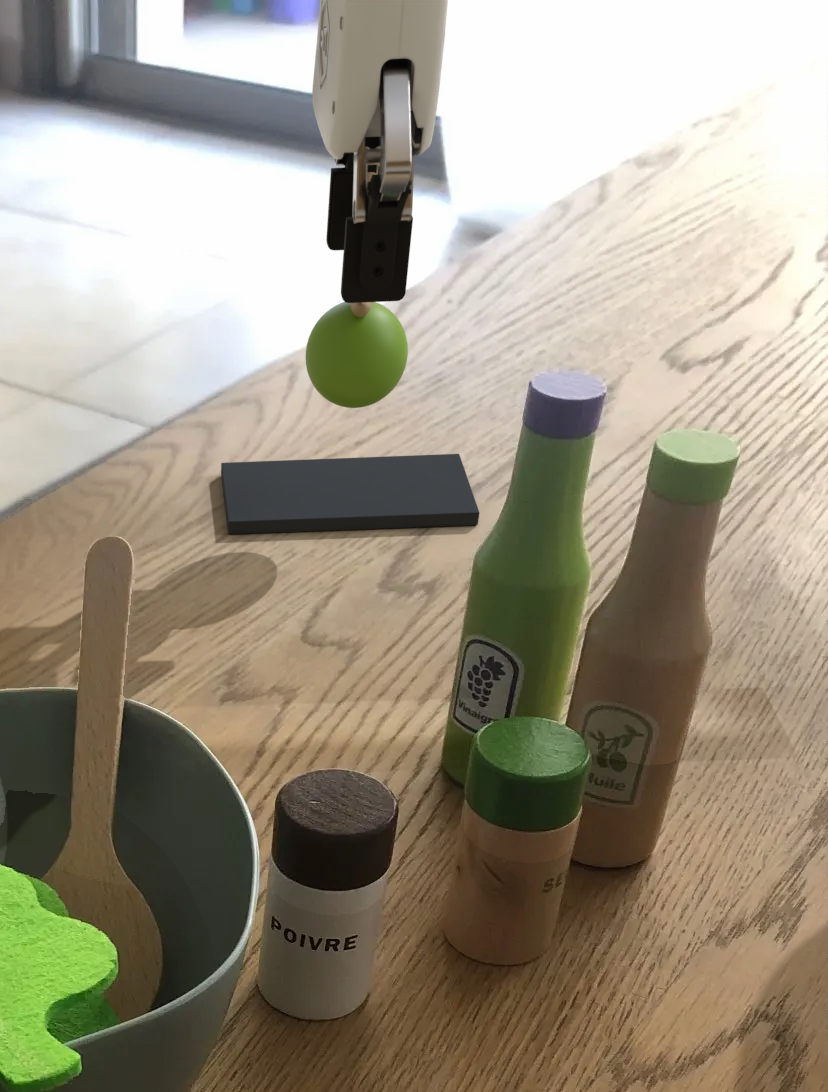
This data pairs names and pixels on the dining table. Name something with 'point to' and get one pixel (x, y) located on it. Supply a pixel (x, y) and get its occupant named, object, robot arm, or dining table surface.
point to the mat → (347, 494)
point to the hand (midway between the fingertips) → (364, 269)
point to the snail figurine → (356, 352)
